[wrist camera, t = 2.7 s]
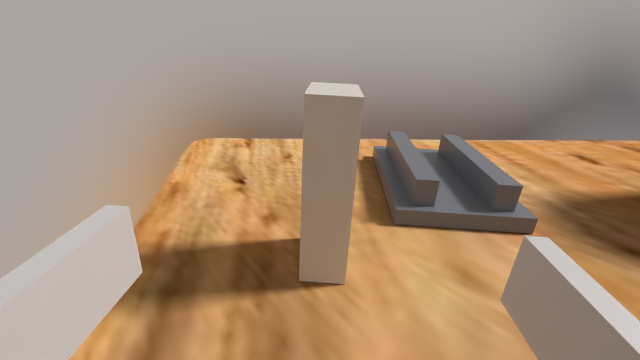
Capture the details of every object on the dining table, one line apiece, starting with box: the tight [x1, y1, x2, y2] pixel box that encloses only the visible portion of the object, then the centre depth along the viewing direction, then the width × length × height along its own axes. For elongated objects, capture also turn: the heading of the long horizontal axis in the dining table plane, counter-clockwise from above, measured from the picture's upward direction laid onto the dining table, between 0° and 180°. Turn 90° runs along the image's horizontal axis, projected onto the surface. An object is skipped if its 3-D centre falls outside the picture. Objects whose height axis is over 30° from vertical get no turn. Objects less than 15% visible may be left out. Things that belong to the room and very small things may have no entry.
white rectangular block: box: [299, 82, 364, 284], centre depth 20 cm, size 3×5×12 cm, turn 177°
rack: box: [373, 131, 538, 234], centre depth 35 cm, size 12×18×4 cm, turn 177°
